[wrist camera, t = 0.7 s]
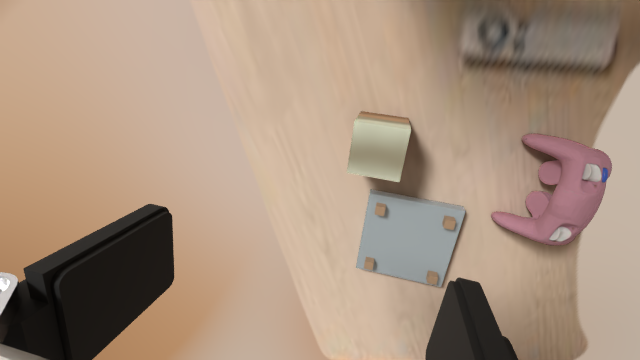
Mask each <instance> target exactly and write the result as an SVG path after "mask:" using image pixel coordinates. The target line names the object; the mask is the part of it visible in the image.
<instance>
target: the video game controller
mask: <svg viewBox="0 0 640 360" xmlns="http://www.w3.org/2000/svg"><path fill="white" fill-rule="evenodd" d="M522 141H523V142H524V143H525V144H526V145H527V146H529V147H531V148H533V149H535V150H538V151H541V152H543V153H546V154H549V155H551V156H552V157H554V158H556V159H558V160H555V161H547V162H544V163H543V164H542V165H541V166H540V168H539V178H540V180H541V181H542V182H543V183H545V184H548V185H557V186H556V188H555V190H554V192H553V194H552V195H551V194H550V193H548V192H542V191H533V192H531V193H530V194H529V195H528V196H527V198H526V206H527V208H528V210H529V211H530V212H531V214H532V216H533V217H532V218H527V217H521V216H517V215H514V214H510V213H505V212H493V213H492V214H491V217H492V219H493V220H494V221H495V222H496V223H497V224H499V225H500V226H502V227H504V228H506V229H508V230H510V231H512V232H515V233H517V234H520V235H522V236H524V237H527V238H529V239H532V240H534V241H537V242H540V243H544V244H547V245H565V244H568V243H570V242H571V241H573V240H574V238H575V237H576V235H578V234H579V233H580V232H581V231H582V230H583V229H584V228H585V227H586V226H587V225H588V224H589V222H590V221H591V220H592V218H593V217H594V215H595V213H596V212H597V210H598V208H599V205H600V203H601V201H602V198H603V195H604V191H605V187H606V180H607V178H608V177H609V176H610V173H611V168H612V164H611V161H610V158H609V157H608V156H607V155H606V154H605V153H604V152H602V151H600V150H598V149H592V148H589V147H587V146H585V145H583V144H580V143H577V142H575V141H571V140H568V139H564V138H559V137H554V136H548V135H542V134H527V135H524V136H523V137H522Z"/></svg>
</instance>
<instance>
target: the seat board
mask: <svg viewBox="0 0 640 360" xmlns="http://www.w3.org/2000/svg"><path fill="white" fill-rule="evenodd" d="M465 212H466V211H465V209H464V207H463V206H458V205H453V204H447V203H442V202H437V201H431V200H426V199H420V198H415V197H410V196H404V195H399V194H394V193H388V192H383V191H377V190H372V189H371V190H370V195H369V200H368V206H367V211H366V216H365V222H364V227H363V232H362V238H361V243H360V248H359V254H358V259H357V265H356V268H359V269H364V270H368V271H373V272H377V273H381V274H386V275H390V276H394V277H399V278H403V279H407V280H412V281H416V282H420V283H425V284H429V285H434V286H438V287H441V286H442V283H443V280H444V276H445V273H446V270H447V267H448V264H449V261H450V258H451V255H452V252H453V249H454V246H455V243H456V240H457V236H458V233H459V230H460V227H461V224H462V221H463V218H464V215H465Z"/></svg>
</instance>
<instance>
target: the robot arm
mask: <svg viewBox="0 0 640 360" xmlns="http://www.w3.org/2000/svg"><path fill="white" fill-rule="evenodd" d="M172 229H173V228H172V215H171V214H170V213H169V211H168V209H167V208H166V207H162V206H158V205H154V204H148V205H146V206H144V207H142V208H140V209H138V210H136V211H134V212H132V213H130V214H128V215H126V216H124V217H122V218H120V219H118V220H117V221H115V222H113V223H111V224H109V225H107V226H105V227H103V228H101V229H99V230H97V231H95V232H93V233H91V234H90V235H88V236H86V237H84V238H82V239H80V240H78V241H76V242H74V243H72V244H70V245H68V246H66V247H64V248H62V249H60V250H58V251H57V252H55V253H53V254H51V255H49V256H47V257H45V258H43V259H41V260H39V261H37V262H35V263H33V264H31V265H29V266H28V267H26V268H24V273H25V277H26V279H25V280H23V281H22V282H20V283H19V282H18V279H17V278H16V276H15V275H12V274H10V273H3V272H0V360H92V359H93V358H94V357H95V356H97V354H99V353H100V352H101V351H102V350H103V349H104V348H105V347H106V346H107V345H108V344H109V343H110V342H111V341H113V339H115V338H116V337H117V336H118V335H119V334H120V333H121V332H122V331H123V330H124V329H125V328H126V327H127V326H128V325H130V324H131V323H132V322H133V321H134V320H135V319H136V318H137V317H138V316H139V315H140V314H141V313H142V312H143V311H145V310H146V309H147V308H148V307H149V306H150V305H151V304H152V303H153V302H154V301H155V300H156V299H157V298H158V297H159V296H160V295H162V294H163V293H164V292H165V291H166V290H167V289H168V288H169V287H170V286H171V284H172V282H173V280H174V257H173V231H172ZM426 360H518V358H517V356H516V354H515V351H514V349H513V347H512V345H511V343H510V341H509V340H508V339H507V338H506V337H504V336H502V334H501V332H500V329H499V327H498V325H497V322H496V320H495V318H494V315H493V313H492V311H491V308H490V306H489V304H488V301H487V299H486V296H485V294H484V292H483V289H482V287H481V285H480V283H478V282H475V281H471V280H467V279H463V278H457V279H456V281H455V282H454V281H450V282H449V283H448V286H447V289H446V292H445V295H444V298H443V301H442V304H441V307H440V310H439V313H438V316H437V319H436V322H435V325H434V328H433V331H432V334H431V337H430V340H429V343H428V345H427V349H426Z"/></svg>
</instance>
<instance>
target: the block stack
mask: <svg viewBox="0 0 640 360" xmlns="http://www.w3.org/2000/svg"><path fill="white" fill-rule="evenodd" d="M410 133H411V127H410V123H409V119H408V118H404V117H397V116H390V115H383V114H376V113H369V112H362V111H361V113H360V114H359V115H358V117H357V118H356V120H355V122H354V128H353V135H352V142H351V148H350V155H349V161H348V168H347V173H350V174H356V175H361V176H367V177H373V178H378V179H384V180H389V181H395V182H400V178H401V173H402V169H403V164H404V160H405V155H406V151H407V146H408V142H409V137H410Z"/></svg>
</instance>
